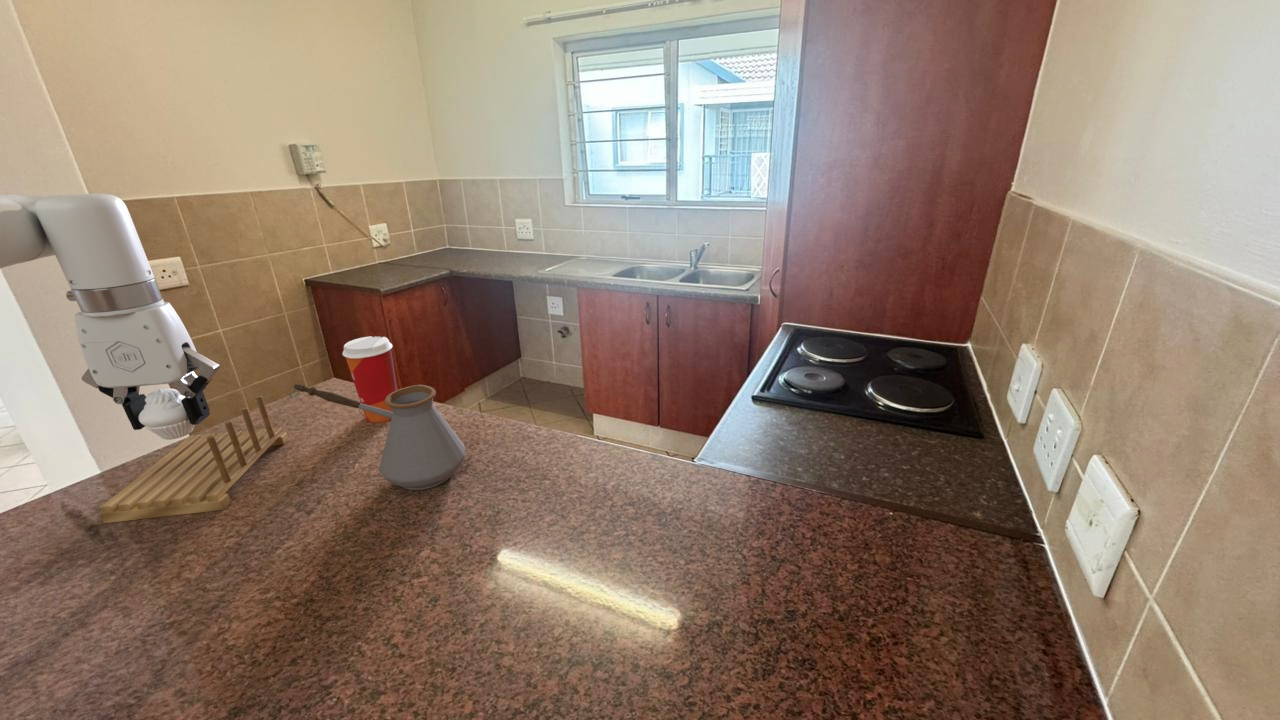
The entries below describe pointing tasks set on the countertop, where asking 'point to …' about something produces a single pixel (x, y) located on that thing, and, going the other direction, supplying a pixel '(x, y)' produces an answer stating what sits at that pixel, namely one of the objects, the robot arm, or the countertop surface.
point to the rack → (195, 473)
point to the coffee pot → (410, 437)
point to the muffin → (165, 414)
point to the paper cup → (372, 372)
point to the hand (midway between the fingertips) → (173, 421)
